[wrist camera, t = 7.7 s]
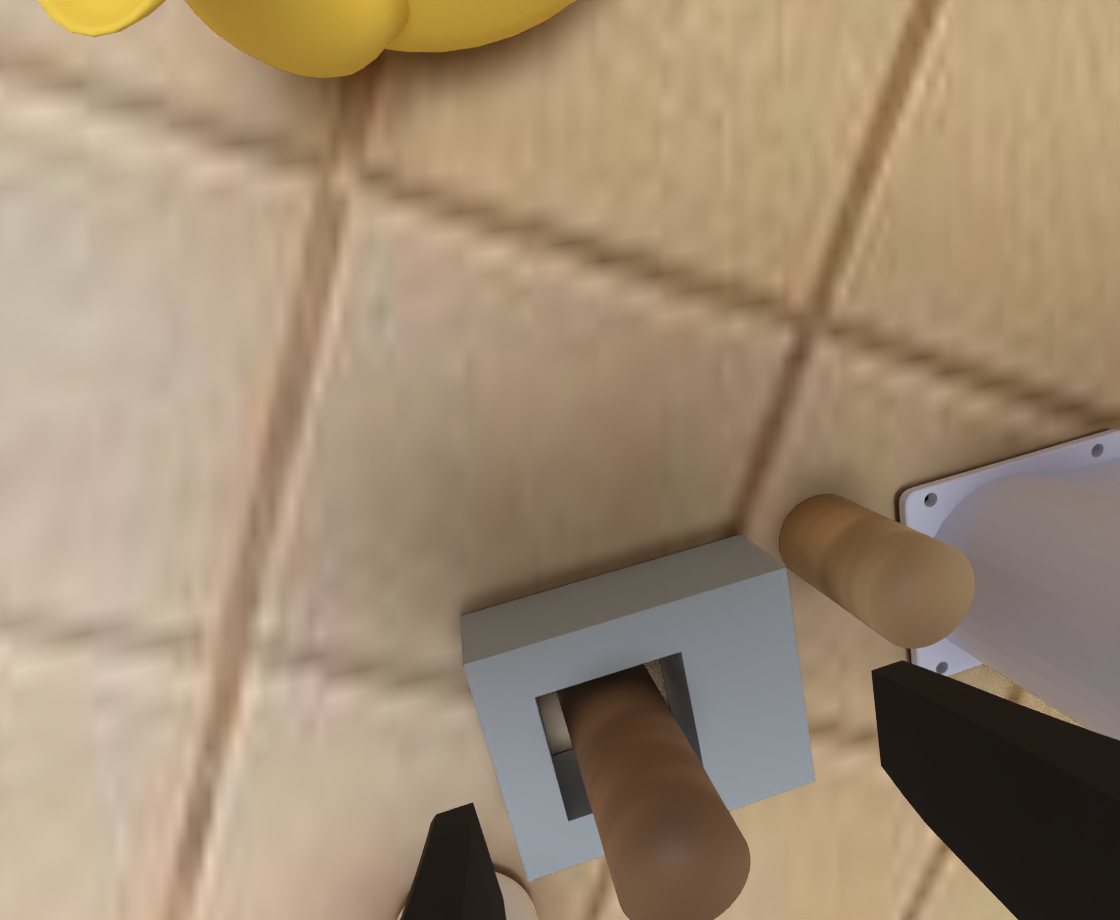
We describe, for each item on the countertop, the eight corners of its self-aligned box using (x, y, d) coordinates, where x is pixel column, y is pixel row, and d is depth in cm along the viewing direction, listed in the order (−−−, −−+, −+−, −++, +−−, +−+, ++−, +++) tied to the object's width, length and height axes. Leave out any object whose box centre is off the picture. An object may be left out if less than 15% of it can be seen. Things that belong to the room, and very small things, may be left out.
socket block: (740, 534, 21) (786, 567, 18) (769, 724, 23) (815, 781, 20) (460, 615, 20) (463, 665, 17) (517, 808, 22) (528, 881, 19)
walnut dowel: (636, 627, 21) (744, 799, 14) (648, 705, 22) (755, 909, 14) (548, 649, 21) (607, 839, 13) (563, 728, 22) (627, 950, 14)
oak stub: (855, 484, 22) (971, 529, 17) (863, 564, 22) (977, 629, 18) (773, 507, 21) (868, 561, 16) (785, 588, 22) (879, 662, 17)
